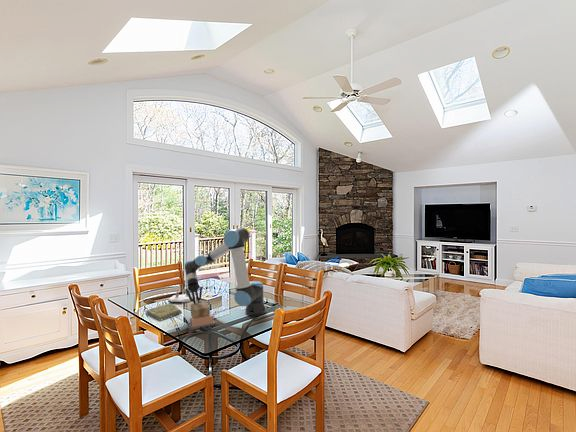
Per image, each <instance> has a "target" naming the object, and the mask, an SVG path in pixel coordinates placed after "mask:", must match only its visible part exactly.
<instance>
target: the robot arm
mask: <svg viewBox="0 0 576 432" xmlns="http://www.w3.org/2000/svg"><path fill="white" fill-rule="evenodd" d="M249 239H250V233H249V230H247V228H244V227H238V228H233V229H229V230H227V231H226V232H225V233H224V235H223V243H221V245H219V246H217V247H216V248H214V249H213V250H212V251H210V252H209V253H207V254H204V255H203V254H199V255H198V256H196V257H195V258H194V259H193V260H188V261H186V262H184V271H185V277H186V281H187V283H186V284H187V285H188V286H187V288H184V293H185V294H186V293H187V295H188V297H189V299H190V302H192V304H196V303H200V301H202V293H203V289H204V287H203V286H200V285H199V280H198V275H197V270H199V269H200V268H202V267H204V266H207V265H210V264H214V263H215V262H216V261H217V260H218V259H220V258H222V257H223V256H225V255H226V254H227V253H229V252H231V258H232V262H233V267H234V269H233V270H234V274H235V278H236V286H235V291H236V292H235V293H234V296H233V297H234V298H233V300H234V302H235V303H236V304H237V305H239V306H241V307H245V309H244V311H245V314H246V315H248V316H250V317H251V316H253V317H258V316H262V315H264V314H265V313H266V312H267V311H266V305H265V303H264V283H263V282H262V281H258V280H252V281H251V280H250V279H249V274H248V273H249V272H248V268H247V263H246V262H247V261H246V256H245V252H244V250H245V248H246V245H245V244H246V243H247V242H248V241H249ZM198 291H199V293H198ZM191 296H192V297H191ZM192 298H193V299H192Z"/></svg>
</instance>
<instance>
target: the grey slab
mask: <svg viewBox="0 0 576 432" xmlns="http://www.w3.org/2000/svg"><path fill="white" fill-rule="evenodd" d="M190 318H192V316H191V314H187V315H184V320H185V319H186V320H187V322H188V323H187V322H186V323H187V325H188V324H189V325H188V327H189V329H190V330H196V329H198V330H199V329H201V328H200V327H202V328H206V327H205V326H207V327H211V326H210V325H212V326H215V325H216V322H215V321H214V315H213V314H210V315H209V316H204V317H199V318H193V319H192V321H190ZM186 320H185V321H186ZM214 324H215V325H214Z"/></svg>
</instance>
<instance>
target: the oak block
mask: <svg viewBox="0 0 576 432" xmlns="http://www.w3.org/2000/svg"><path fill="white" fill-rule="evenodd" d="M210 310H211V309H210V306H209V305H208V304H207V302H206V301H203V302H199V303H196V304H194V303H191V304H190V315H191V316H192V318H190V321H192V319H193V318H199V317H204V316H209V315H211V313H210V312H211V311H210Z"/></svg>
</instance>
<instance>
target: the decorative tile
mask: <svg viewBox="0 0 576 432" xmlns="http://www.w3.org/2000/svg"><path fill="white" fill-rule="evenodd" d="M147 313H148V314H147ZM179 313H180V314H182V310H181V308H178V307H176V305H175V304H172V303H166V304H162V305H157V306H156V307H151V308H150V309H147V310H146V314H147V315H149V314H150V315H149V316H151V315H152V316H151V317H153V316H154V317H153V318H155V317H156V318H155V319H157V318H158V319H157V320H159V319H160V320H159V321H162V320H161V319H163V320H165V318H166V319H168V317H169V318H171V316H172V317H174V315H175V316H177V315H180V314H179Z"/></svg>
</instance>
